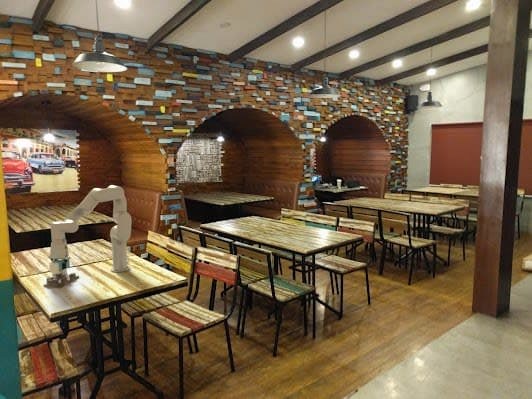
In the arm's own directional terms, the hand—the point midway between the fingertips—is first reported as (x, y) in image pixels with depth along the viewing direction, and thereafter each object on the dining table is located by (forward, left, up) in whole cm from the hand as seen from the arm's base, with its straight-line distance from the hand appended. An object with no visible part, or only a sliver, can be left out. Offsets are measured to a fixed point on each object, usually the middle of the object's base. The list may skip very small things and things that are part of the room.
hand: (60, 268), depth 256 cm
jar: (-16, -12, -9) cm, 22 cm away
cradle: (0, 0, -9) cm, 9 cm away
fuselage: (0, 0, -1) cm, 1 cm away
